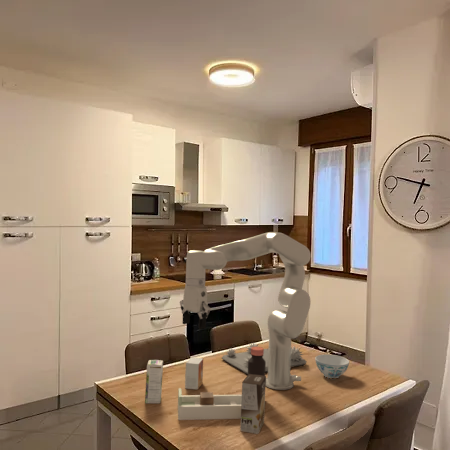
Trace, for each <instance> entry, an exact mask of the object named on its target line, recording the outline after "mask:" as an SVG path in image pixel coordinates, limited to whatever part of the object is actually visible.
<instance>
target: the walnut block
mask: <svg viewBox="0 0 450 450" xmlns="http://www.w3.org/2000/svg"><path fill="white" fill-rule="evenodd" d="M213 393H214V392H212V391H211V392H210V391H209V392H201V391H200V392H199V395H200V405H213V404H214V396H213V395H214V394H213Z"/></svg>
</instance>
